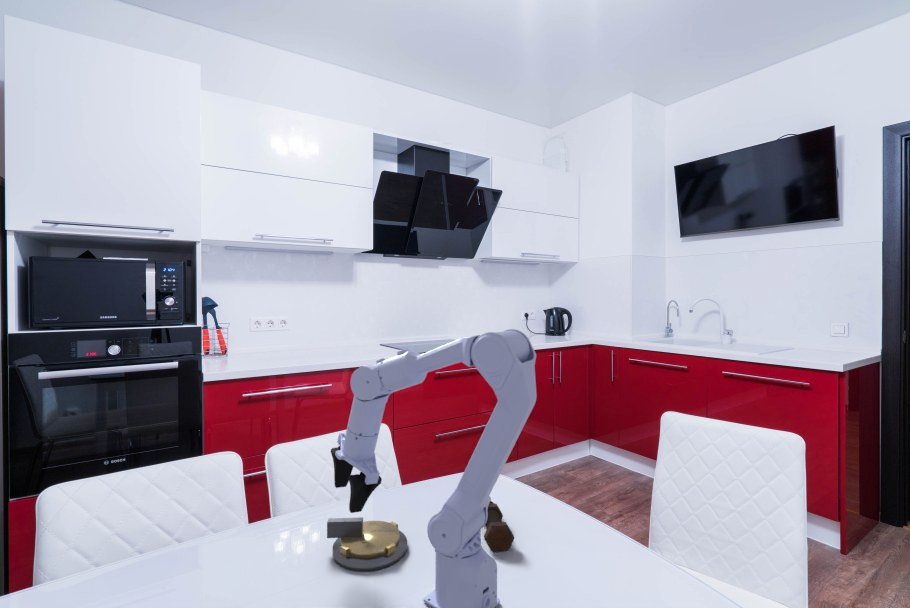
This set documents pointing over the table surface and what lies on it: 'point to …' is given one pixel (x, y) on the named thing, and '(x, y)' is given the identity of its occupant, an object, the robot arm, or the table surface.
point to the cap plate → (369, 563)
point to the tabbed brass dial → (364, 537)
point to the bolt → (497, 530)
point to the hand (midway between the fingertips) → (347, 498)
